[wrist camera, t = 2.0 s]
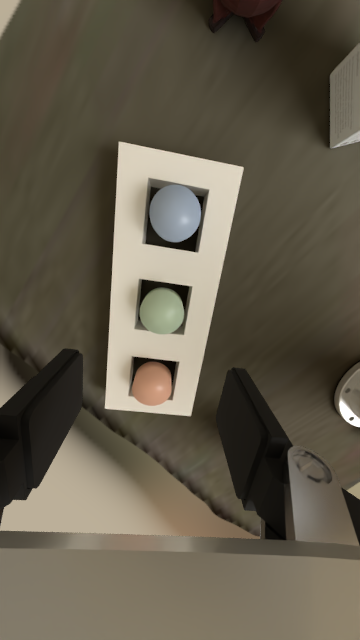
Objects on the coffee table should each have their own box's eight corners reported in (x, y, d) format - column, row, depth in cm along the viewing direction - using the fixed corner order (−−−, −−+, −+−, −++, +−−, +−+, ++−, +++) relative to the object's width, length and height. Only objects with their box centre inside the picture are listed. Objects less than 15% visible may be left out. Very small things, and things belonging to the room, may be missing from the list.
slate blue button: (193, 245, 21) (196, 245, 19) (149, 238, 21) (146, 237, 19) (201, 196, 20) (205, 189, 18) (154, 187, 19) (152, 179, 17)
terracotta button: (168, 394, 27) (168, 407, 25) (133, 390, 26) (130, 404, 24) (173, 363, 26) (174, 375, 23) (136, 359, 25) (133, 370, 23)
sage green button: (179, 328, 24) (180, 336, 22) (140, 323, 24) (137, 331, 21) (185, 290, 23) (187, 295, 20) (144, 284, 22) (141, 288, 20)
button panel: (188, 400, 31) (190, 416, 28) (111, 393, 30) (105, 408, 27) (233, 177, 22) (243, 167, 19) (125, 155, 21) (118, 141, 18)
